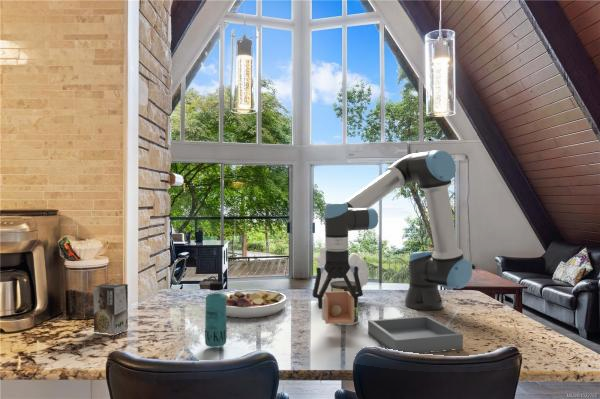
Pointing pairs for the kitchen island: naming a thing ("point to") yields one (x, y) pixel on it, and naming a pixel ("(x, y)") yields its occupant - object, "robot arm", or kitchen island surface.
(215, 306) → the beverage bottle
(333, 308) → the ball
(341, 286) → the coffee can
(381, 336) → the tray
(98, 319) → the coffee box
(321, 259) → the decorative rooster
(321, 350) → the kitchen island surface
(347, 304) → the open brown box
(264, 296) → the bowl
